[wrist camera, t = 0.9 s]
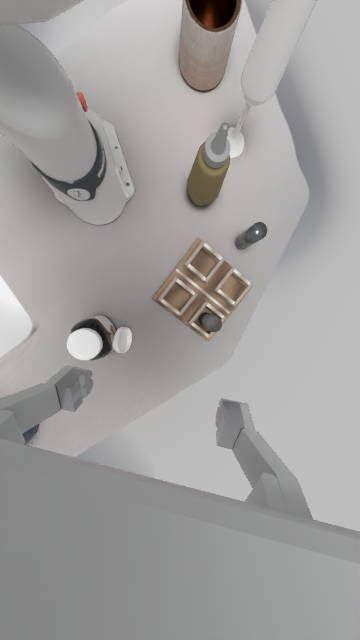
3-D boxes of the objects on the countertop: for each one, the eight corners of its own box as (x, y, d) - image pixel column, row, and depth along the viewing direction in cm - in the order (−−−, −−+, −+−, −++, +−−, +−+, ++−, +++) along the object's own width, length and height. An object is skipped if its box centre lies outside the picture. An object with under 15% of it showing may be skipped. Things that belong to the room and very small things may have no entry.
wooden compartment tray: (152, 298, 47) (149, 299, 37) (197, 238, 46) (206, 223, 36) (207, 340, 50) (218, 352, 40) (251, 286, 49) (273, 284, 39)
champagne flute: (227, 121, 42) (308, -102, 18) (249, 138, 43) (353, -52, 19) (213, 147, 42) (274, -35, 19) (235, 163, 44) (319, 10, 20)
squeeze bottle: (222, 190, 44) (260, 122, 27) (204, 217, 45) (230, 168, 27) (197, 169, 43) (219, 82, 25) (179, 197, 44) (188, 132, 26)
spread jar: (81, 321, 46) (54, 330, 35) (120, 305, 47) (105, 309, 35) (102, 359, 48) (82, 380, 37) (138, 343, 49) (130, 359, 37)
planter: (205, 25, 39) (218, -62, 29) (233, 72, 40) (254, 5, 31) (168, 58, 39) (170, -17, 29) (198, 104, 41) (208, 47, 31)
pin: (234, 236, 46) (251, 222, 37) (247, 234, 47) (266, 221, 38) (235, 250, 47) (252, 240, 38) (248, 248, 47) (267, 238, 38)
